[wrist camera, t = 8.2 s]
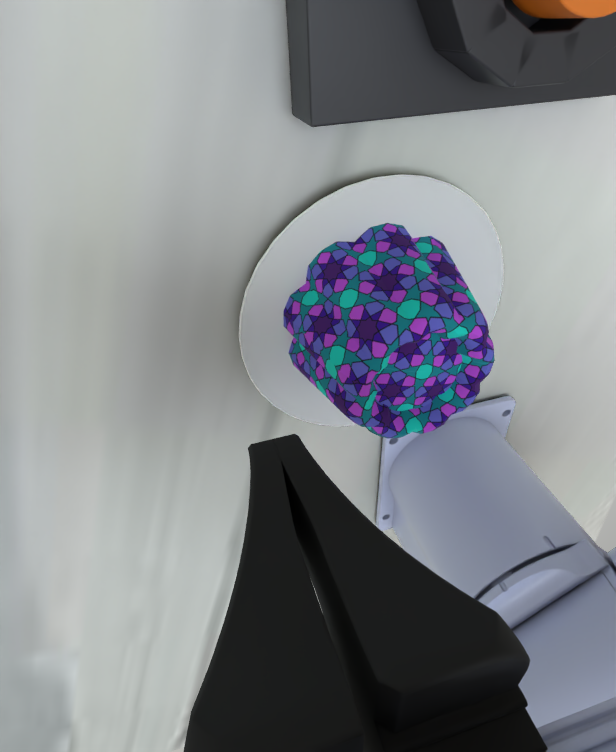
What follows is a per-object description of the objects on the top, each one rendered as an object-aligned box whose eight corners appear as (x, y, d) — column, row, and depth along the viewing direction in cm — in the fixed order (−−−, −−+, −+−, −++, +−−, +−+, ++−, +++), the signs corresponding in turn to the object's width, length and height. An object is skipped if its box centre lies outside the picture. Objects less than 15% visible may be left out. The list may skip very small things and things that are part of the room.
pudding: (260, 140, 15) (303, 184, 11) (540, 194, 19) (645, 240, 15) (220, 419, 22) (237, 509, 18) (435, 414, 26) (489, 486, 22)
